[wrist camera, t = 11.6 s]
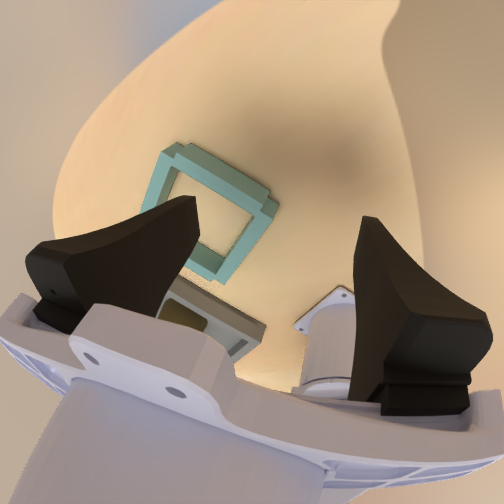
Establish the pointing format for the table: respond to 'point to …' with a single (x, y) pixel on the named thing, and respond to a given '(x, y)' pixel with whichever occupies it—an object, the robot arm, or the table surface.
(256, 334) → the charcoal tray
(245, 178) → the teal collar
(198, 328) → the cork
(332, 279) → the table surface
